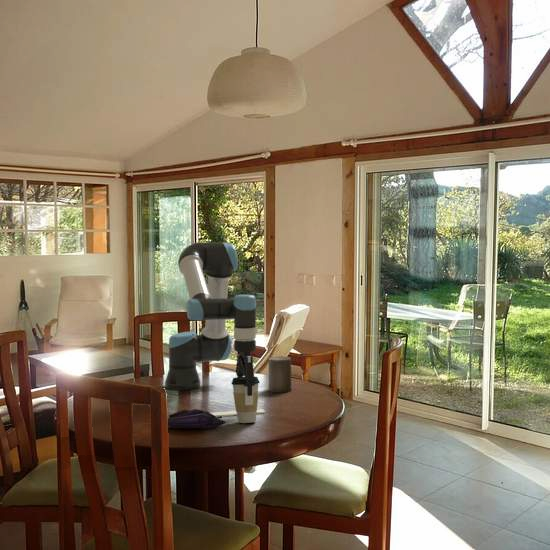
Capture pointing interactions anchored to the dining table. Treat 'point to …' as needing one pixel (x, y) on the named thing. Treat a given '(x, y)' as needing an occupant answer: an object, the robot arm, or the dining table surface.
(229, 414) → the cream flat slat
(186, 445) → the dining table surface
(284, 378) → the pillar candle
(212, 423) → the crystal
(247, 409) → the coffee cup
